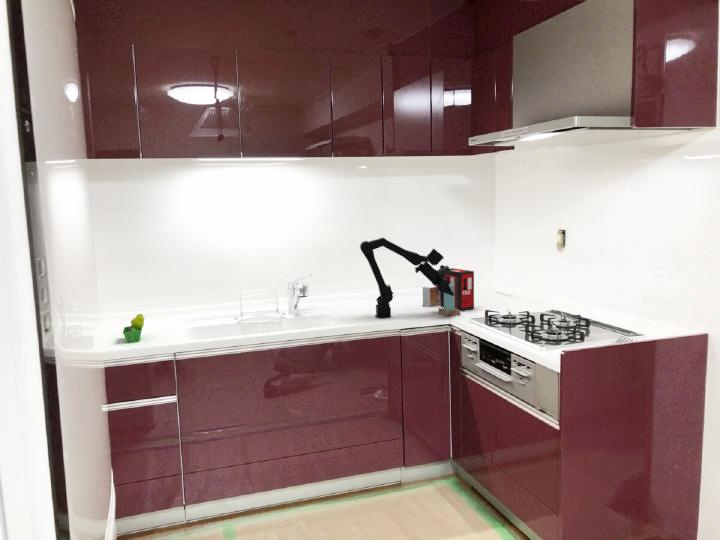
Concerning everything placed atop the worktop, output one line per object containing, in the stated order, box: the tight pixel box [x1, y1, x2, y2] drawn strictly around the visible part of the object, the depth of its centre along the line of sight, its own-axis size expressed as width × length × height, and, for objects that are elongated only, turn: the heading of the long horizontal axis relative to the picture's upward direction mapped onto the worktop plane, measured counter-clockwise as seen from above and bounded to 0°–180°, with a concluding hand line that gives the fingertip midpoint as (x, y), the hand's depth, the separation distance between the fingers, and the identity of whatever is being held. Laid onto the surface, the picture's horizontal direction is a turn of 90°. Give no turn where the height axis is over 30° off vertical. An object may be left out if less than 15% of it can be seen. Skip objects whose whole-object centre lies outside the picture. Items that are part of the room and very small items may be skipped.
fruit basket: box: [122, 313, 145, 344], centre depth 259 cm, size 11×9×11 cm
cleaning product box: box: [439, 267, 475, 312], centre depth 308 cm, size 16×9×20 cm, turn 32°
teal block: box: [444, 284, 455, 311], centre depth 293 cm, size 4×4×12 cm
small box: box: [422, 284, 440, 308], centre depth 317 cm, size 8×6×10 cm
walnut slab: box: [437, 307, 461, 318], centre depth 294 cm, size 8×8×2 cm
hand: (451, 293), depth 293 cm, fingers open, 9 cm apart
